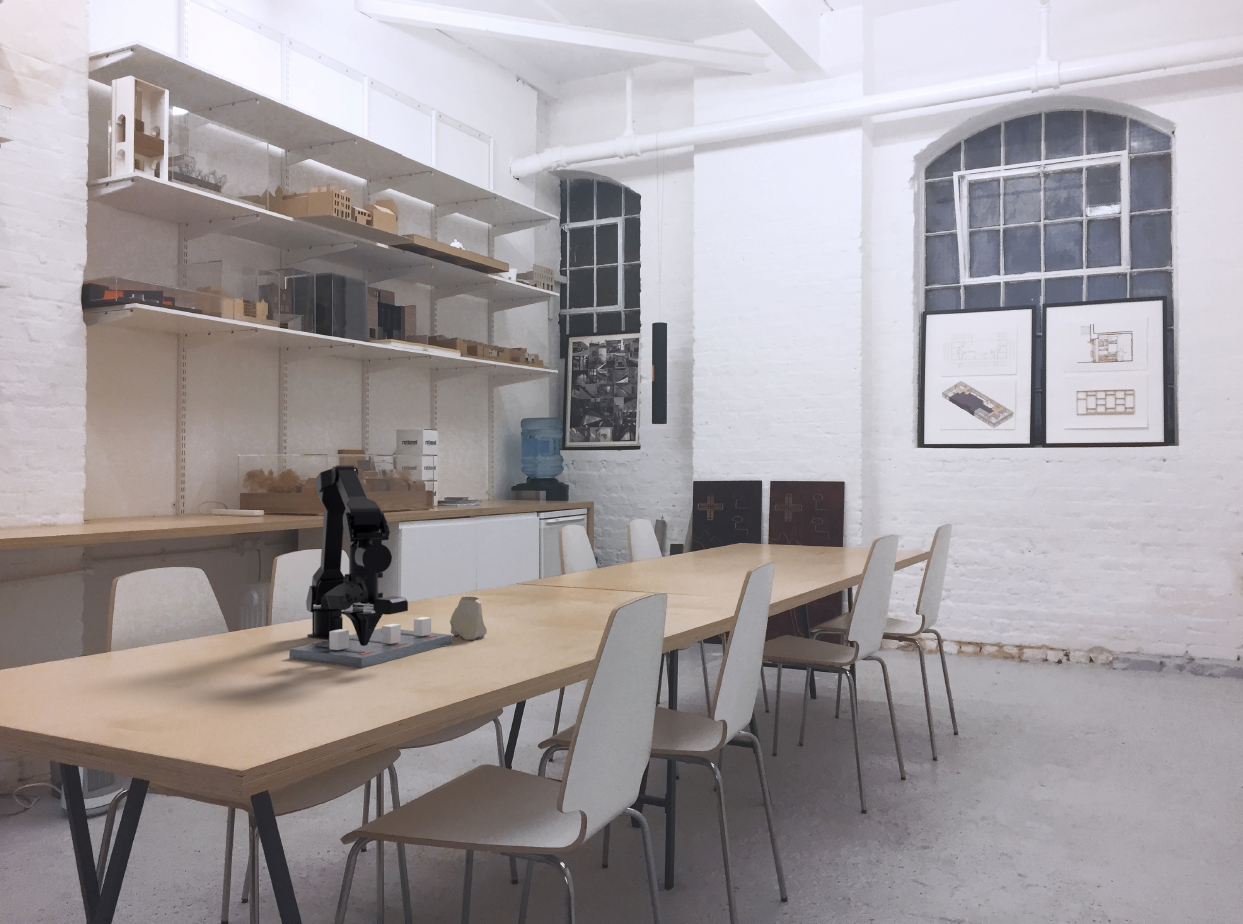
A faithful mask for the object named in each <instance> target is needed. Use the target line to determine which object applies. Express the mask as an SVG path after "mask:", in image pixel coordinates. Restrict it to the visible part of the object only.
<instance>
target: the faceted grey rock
mask: <svg viewBox="0 0 1243 924" xmlns="http://www.w3.org/2000/svg"><path fill="white" fill-rule="evenodd" d="M458 602H459V603H458V605H457V607H455V609H454V611H453V612H452V615H451V617H450V620H449V624H450V633H451V634H450V635H452V636H454V637H459V636H460V637H461V638H463V640H465V641H471V640H473V641H474V640H476V639H477V638H485V635H487V634H488V632H487V631H488V630H487V627H486V625H485V623H484V618H483V617H484V616H483V609H482V601H481V599H480V598H479V597H478V596H477V597H476V596H461V598H460V600H459V601H458Z"/></svg>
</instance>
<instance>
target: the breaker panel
mask: <svg viewBox="0 0 1243 924" xmlns="http://www.w3.org/2000/svg"><path fill="white" fill-rule="evenodd" d="M452 644H453V634H446V633H437V632H436V633H435V632H431V634H429V635H425V636H416V635H414V630H409V629H407V630H406V629H401V642H397V643H393V644H387V643H382V627H381V628H377V629H376V628H375V629H374V631H373V634H372V636H371V638H370V640H369V642H368V644H367V645H366V646H361V645H360V642H359V639H358V636H357V634H356V633H355V634H349V648H345V649H341V650H333V649H329V639H327V640H324V641H319V642H315V643H309V644H305V645H300V646H296V647H295V646H294V647H291V648H289V649H288V650H289V651H288V653H289V660H290V659H291V660H297V661H307V662H312V663H313V662H314V663H321V664H329V665H336V666H342V667H343V666H345V667H351V668H357V669H363V668H368V667H370V666H374V665H378V664H382V663H386V662H390V661H393V660H397V659H401V658H403V657H404V658H405V657H408V656H411V655H416V654H420V653H423V652H427V651H431V650H434V649H438V648H442V647H446V646H449V645H452Z"/></svg>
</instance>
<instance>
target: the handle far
mask: <svg viewBox="0 0 1243 924" xmlns="http://www.w3.org/2000/svg"><path fill="white" fill-rule="evenodd" d="M413 631H414V635H416V636H425V635H429V634H431V633H432V617H426V616H421V617H418V618H414V619H413Z"/></svg>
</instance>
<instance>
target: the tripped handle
mask: <svg viewBox="0 0 1243 924" xmlns="http://www.w3.org/2000/svg"><path fill="white" fill-rule="evenodd" d="M349 635H350V630H349V629H344V628H343V629H339V630H334V631H329V638H328V640H329V649H333V650H341V649H345V648H349Z"/></svg>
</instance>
